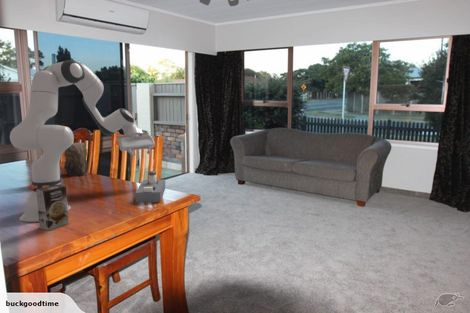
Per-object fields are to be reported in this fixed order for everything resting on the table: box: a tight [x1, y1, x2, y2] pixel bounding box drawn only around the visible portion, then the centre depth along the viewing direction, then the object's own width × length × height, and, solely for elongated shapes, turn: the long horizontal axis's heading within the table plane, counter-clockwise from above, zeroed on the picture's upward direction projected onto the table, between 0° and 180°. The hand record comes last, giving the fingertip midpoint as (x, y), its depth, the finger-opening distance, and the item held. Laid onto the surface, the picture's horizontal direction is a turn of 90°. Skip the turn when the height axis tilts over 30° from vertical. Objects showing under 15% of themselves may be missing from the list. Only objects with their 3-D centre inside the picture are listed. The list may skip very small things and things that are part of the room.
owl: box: [63, 142, 89, 177], centre depth 230 cm, size 13×13×20 cm
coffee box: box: [36, 184, 70, 231], centre depth 143 cm, size 9×6×16 cm
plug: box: [148, 170, 157, 184], centre depth 191 cm, size 4×4×11 cm
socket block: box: [134, 176, 166, 204], centre depth 186 cm, size 25×12×7 cm, turn 5°
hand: (141, 154), depth 198 cm, fingers open, 8 cm apart
